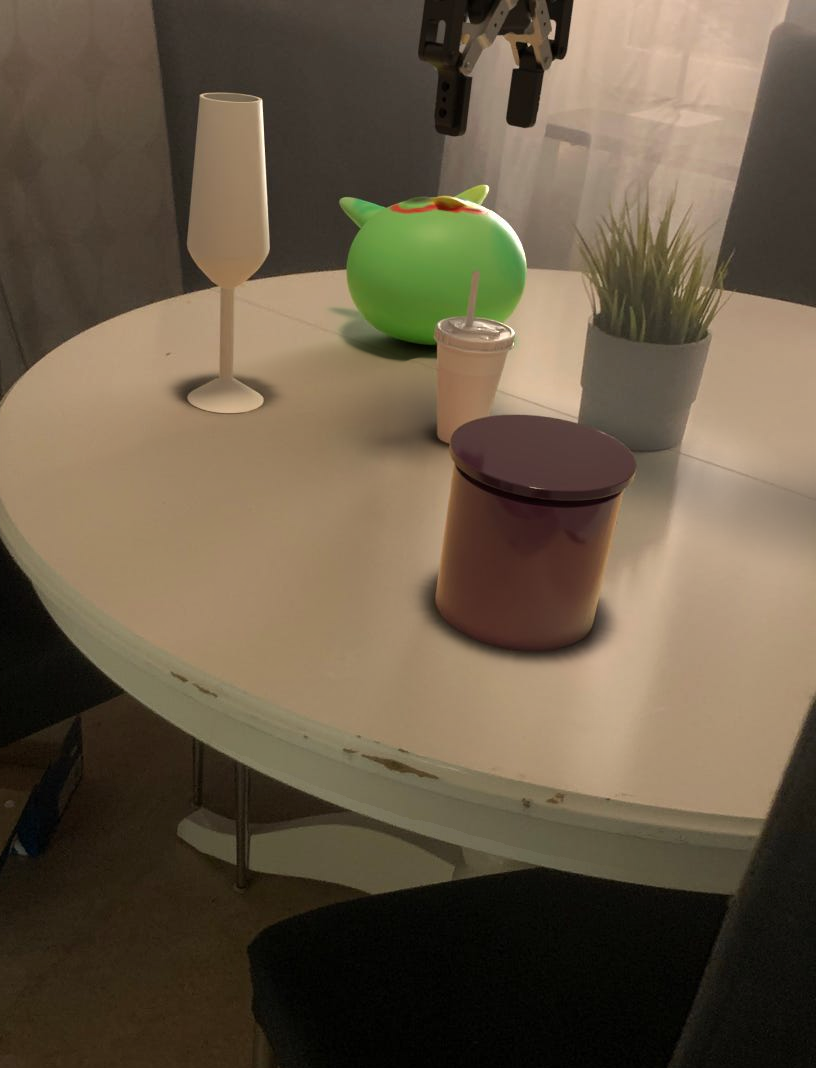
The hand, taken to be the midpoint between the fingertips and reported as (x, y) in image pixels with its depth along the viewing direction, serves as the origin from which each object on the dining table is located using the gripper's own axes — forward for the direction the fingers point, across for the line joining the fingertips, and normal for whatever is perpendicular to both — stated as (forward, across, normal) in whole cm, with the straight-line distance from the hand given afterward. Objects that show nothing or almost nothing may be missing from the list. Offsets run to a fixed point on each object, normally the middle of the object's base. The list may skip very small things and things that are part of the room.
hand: (486, 130), depth 79 cm
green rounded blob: (+24, +20, +18) cm, 37 cm away
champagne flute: (+24, -8, +19) cm, 31 cm away
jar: (+24, -18, -19) cm, 36 cm away
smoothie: (+24, +1, 0) cm, 24 cm away
